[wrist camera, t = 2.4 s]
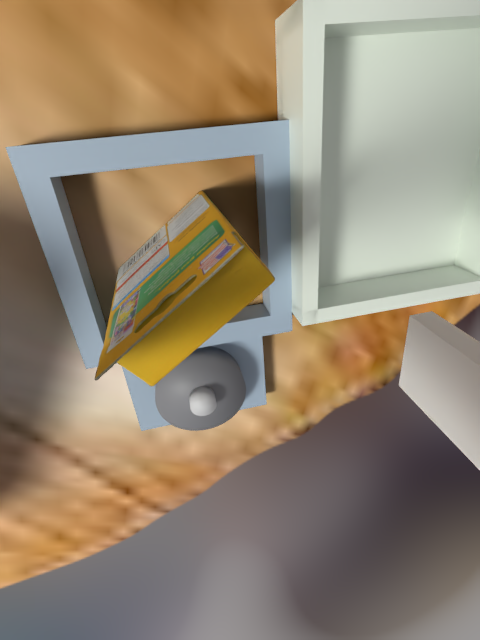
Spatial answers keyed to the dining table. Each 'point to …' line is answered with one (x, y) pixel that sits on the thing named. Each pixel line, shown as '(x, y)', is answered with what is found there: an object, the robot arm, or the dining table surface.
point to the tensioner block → (79, 293)
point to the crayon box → (180, 291)
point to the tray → (381, 152)
